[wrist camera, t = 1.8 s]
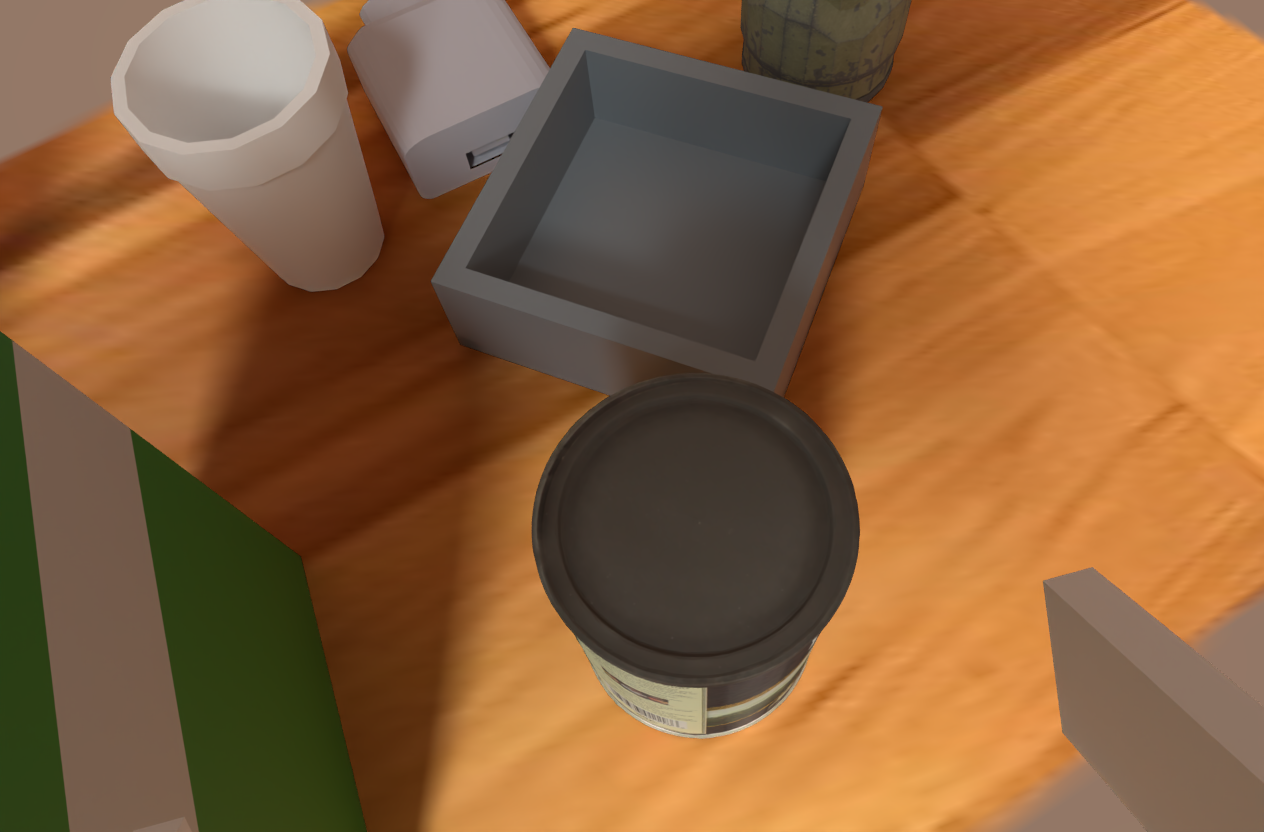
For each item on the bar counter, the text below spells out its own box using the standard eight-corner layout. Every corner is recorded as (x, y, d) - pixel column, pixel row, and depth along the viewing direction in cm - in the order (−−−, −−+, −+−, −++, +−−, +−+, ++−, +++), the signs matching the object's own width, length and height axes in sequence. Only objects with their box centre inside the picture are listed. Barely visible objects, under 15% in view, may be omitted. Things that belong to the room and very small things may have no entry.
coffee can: (806, 507, 45) (848, 368, 32) (819, 740, 41) (874, 687, 28) (585, 508, 46) (540, 372, 33) (576, 737, 41) (519, 683, 29)
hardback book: (146, 614, 45) (-378, 385, 23) (300, 556, 46) (-67, 281, 24) (215, 1034, 38) (-453, 1277, 16) (397, 957, 38) (-4, 1089, 17)
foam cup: (372, 148, 55) (283, -44, 44) (440, 263, 52) (363, 88, 40) (218, 222, 54) (83, 44, 42) (277, 346, 50) (147, 189, 39)
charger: (468, -23, 61) (572, 138, 55) (333, 34, 60) (425, 206, 54) (451, -90, 57) (561, 78, 51) (304, -30, 55) (401, 149, 50)
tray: (460, 344, 50) (430, 281, 44) (585, 108, 56) (573, 27, 50) (764, 448, 46) (772, 393, 41) (863, 184, 52) (882, 106, 47)
